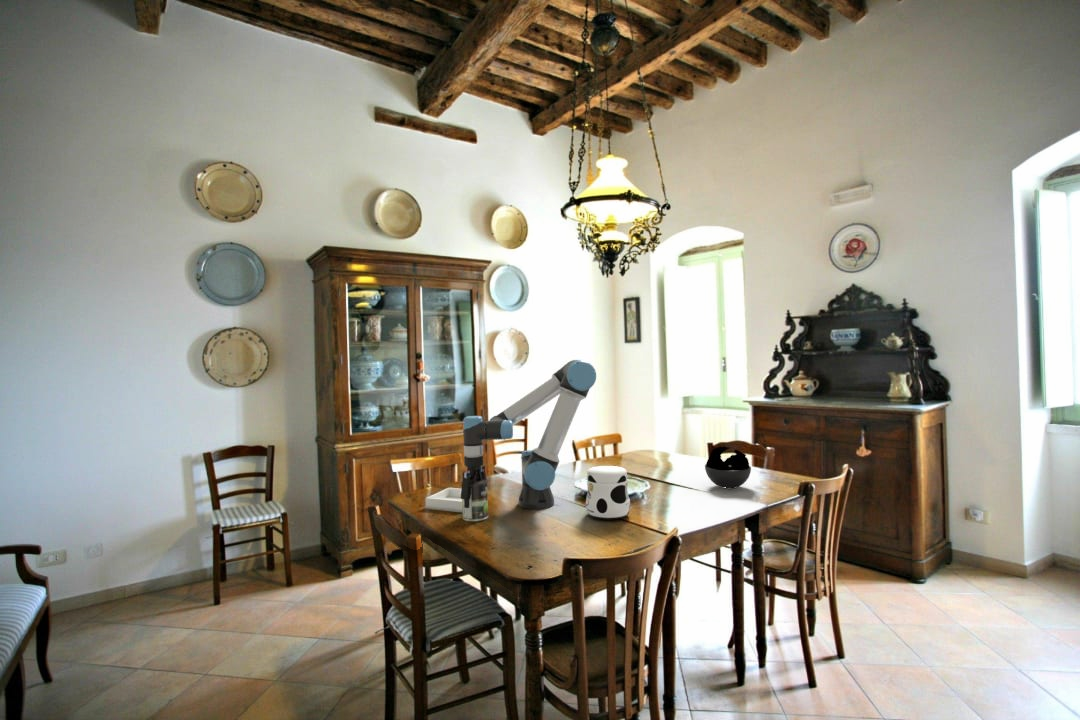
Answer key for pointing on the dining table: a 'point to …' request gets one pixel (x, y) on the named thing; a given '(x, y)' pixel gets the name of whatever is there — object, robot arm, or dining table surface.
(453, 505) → the bin
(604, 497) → the milk container
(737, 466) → the coal bowl
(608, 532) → the dining table surface
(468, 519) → the coffee can
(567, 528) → the dining table surface
